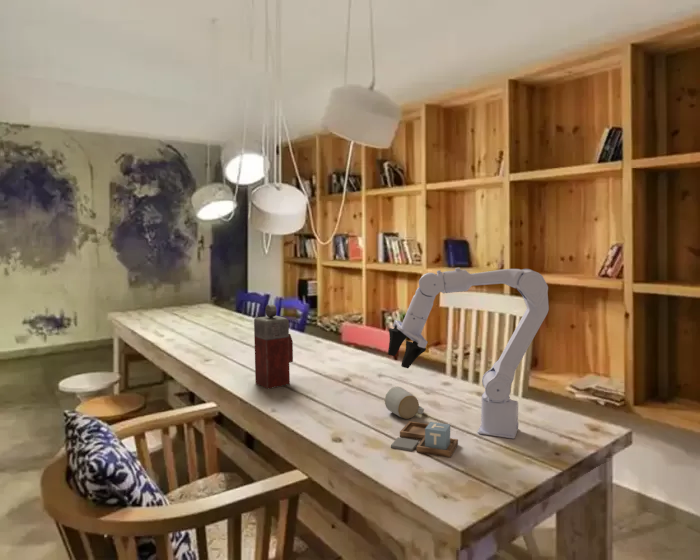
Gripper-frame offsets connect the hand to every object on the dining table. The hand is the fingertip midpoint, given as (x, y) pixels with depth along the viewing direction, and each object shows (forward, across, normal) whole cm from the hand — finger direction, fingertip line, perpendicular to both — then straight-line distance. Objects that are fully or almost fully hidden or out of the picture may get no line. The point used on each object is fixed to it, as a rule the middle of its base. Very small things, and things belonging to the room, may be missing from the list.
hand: (397, 361), depth 145 cm
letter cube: (+12, +20, +6) cm, 25 cm away
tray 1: (+15, +11, +8) cm, 20 cm away
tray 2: (+13, +21, +6) cm, 25 cm away
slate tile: (+16, +16, 0) cm, 22 cm away
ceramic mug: (+16, -3, +13) cm, 21 cm away
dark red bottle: (+34, -50, -8) cm, 61 cm away
